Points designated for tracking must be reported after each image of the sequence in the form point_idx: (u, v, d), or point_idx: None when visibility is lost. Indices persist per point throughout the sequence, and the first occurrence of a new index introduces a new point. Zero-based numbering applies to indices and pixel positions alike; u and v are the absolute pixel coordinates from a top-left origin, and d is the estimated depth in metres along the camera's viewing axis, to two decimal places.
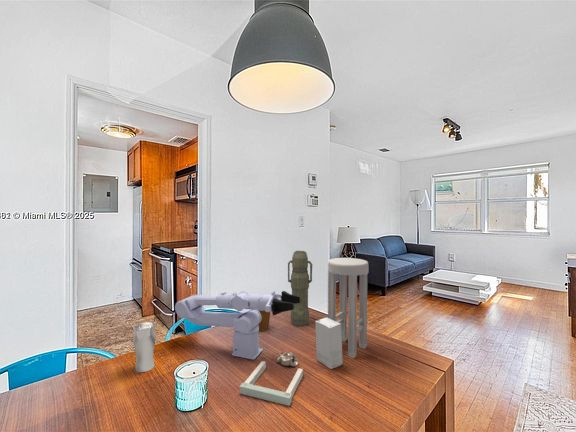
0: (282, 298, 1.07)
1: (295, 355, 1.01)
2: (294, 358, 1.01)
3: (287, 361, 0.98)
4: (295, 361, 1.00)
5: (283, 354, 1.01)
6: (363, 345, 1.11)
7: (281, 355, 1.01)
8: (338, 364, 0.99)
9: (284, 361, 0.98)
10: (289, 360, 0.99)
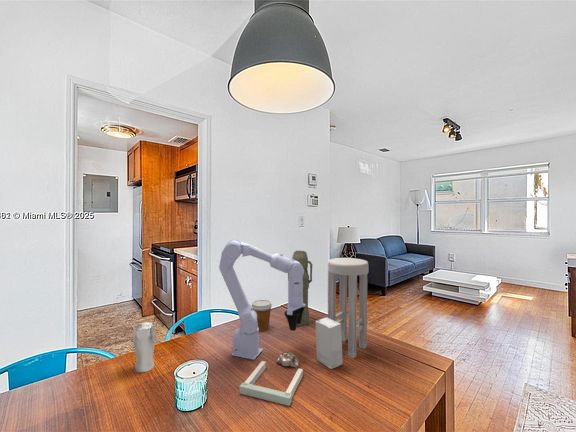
0: None
1: (295, 356, 1.00)
2: (294, 359, 1.00)
3: (287, 362, 0.98)
4: (295, 362, 1.00)
5: (283, 355, 1.01)
6: (363, 345, 1.11)
7: (281, 356, 1.00)
8: (338, 364, 0.99)
9: (284, 362, 0.98)
10: (289, 361, 0.98)
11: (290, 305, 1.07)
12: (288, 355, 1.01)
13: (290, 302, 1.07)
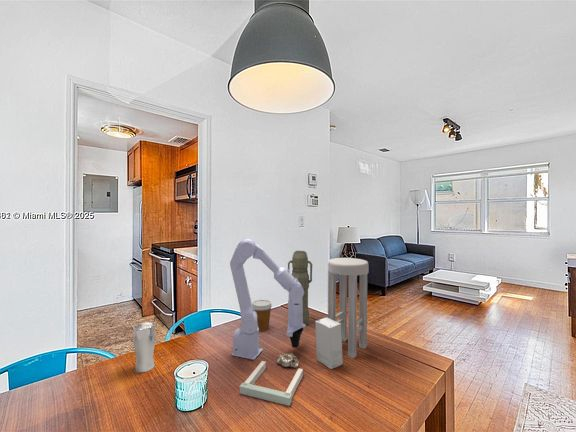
0: None
1: (295, 356, 1.00)
2: (294, 359, 1.00)
3: (287, 362, 0.98)
4: (295, 362, 0.99)
5: (283, 355, 1.00)
6: (363, 345, 1.11)
7: (281, 356, 1.00)
8: (338, 364, 0.99)
9: (284, 362, 0.98)
10: (289, 361, 0.98)
11: (290, 326, 1.07)
12: (288, 356, 1.01)
13: (290, 323, 1.08)
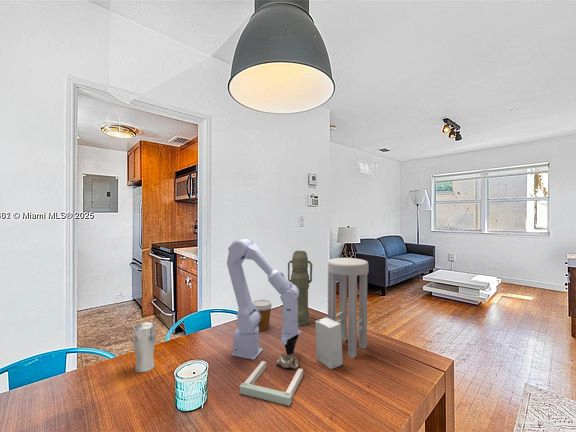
0: None
1: (295, 357, 0.99)
2: (294, 360, 0.99)
3: (287, 363, 0.97)
4: (295, 363, 0.99)
5: (283, 356, 1.00)
6: (363, 345, 1.11)
7: (281, 357, 0.99)
8: (338, 364, 0.99)
9: (284, 363, 0.97)
10: (289, 362, 0.97)
11: (284, 333, 1.01)
12: (288, 356, 1.00)
13: (284, 329, 1.02)
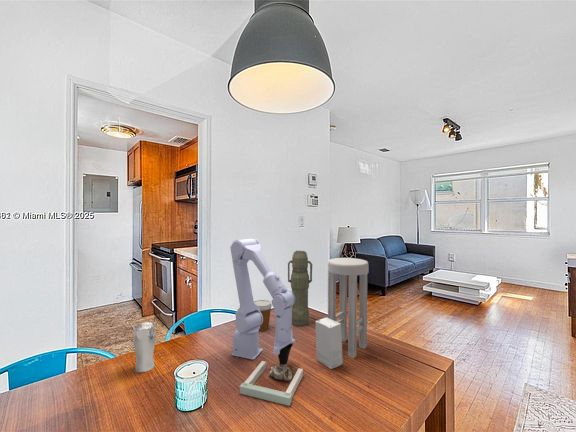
0: None
1: (289, 368, 0.92)
2: (288, 371, 0.92)
3: (280, 375, 0.90)
4: (289, 374, 0.92)
5: (276, 367, 0.93)
6: (363, 345, 1.11)
7: (274, 368, 0.92)
8: (338, 364, 0.99)
9: (277, 375, 0.90)
10: (282, 374, 0.90)
11: (277, 341, 0.95)
12: (281, 367, 0.93)
13: (277, 338, 0.95)
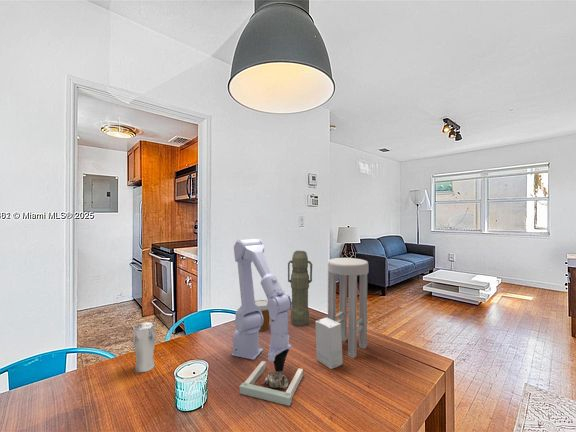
0: None
1: None
2: (284, 379, 0.89)
3: (276, 383, 0.86)
4: (285, 382, 0.88)
5: (271, 374, 0.89)
6: (363, 345, 1.11)
7: (269, 375, 0.88)
8: (338, 364, 0.99)
9: (272, 383, 0.86)
10: (278, 382, 0.86)
11: (273, 347, 0.91)
12: (277, 374, 0.89)
13: (273, 343, 0.91)
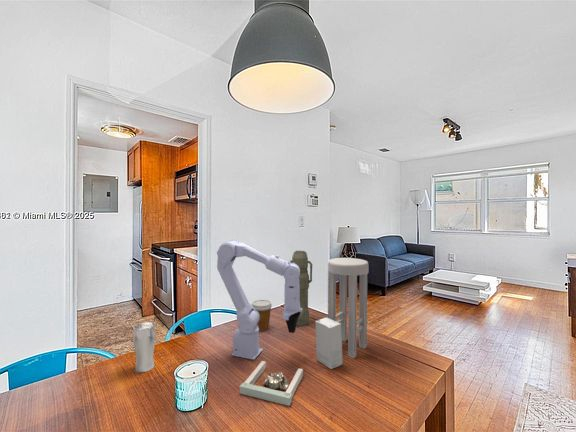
0: (293, 313, 1.06)
1: (285, 376, 0.88)
2: (284, 380, 0.88)
3: (276, 384, 0.86)
4: (285, 383, 0.88)
5: (271, 375, 0.88)
6: (363, 345, 1.11)
7: (269, 376, 0.88)
8: (338, 364, 0.99)
9: (272, 384, 0.86)
10: (278, 382, 0.86)
11: (286, 310, 1.03)
12: (277, 375, 0.89)
13: (286, 306, 1.03)
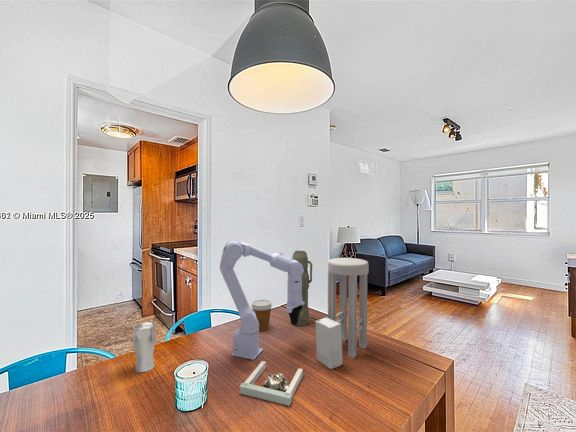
0: (295, 307, 1.12)
1: (285, 377, 0.88)
2: (284, 380, 0.88)
3: (276, 385, 0.85)
4: (285, 384, 0.87)
5: (271, 376, 0.88)
6: (363, 345, 1.11)
7: (269, 377, 0.87)
8: (338, 364, 0.99)
9: (272, 385, 0.85)
10: (278, 383, 0.85)
11: (289, 303, 1.09)
12: (277, 376, 0.88)
13: (289, 300, 1.10)
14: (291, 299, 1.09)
